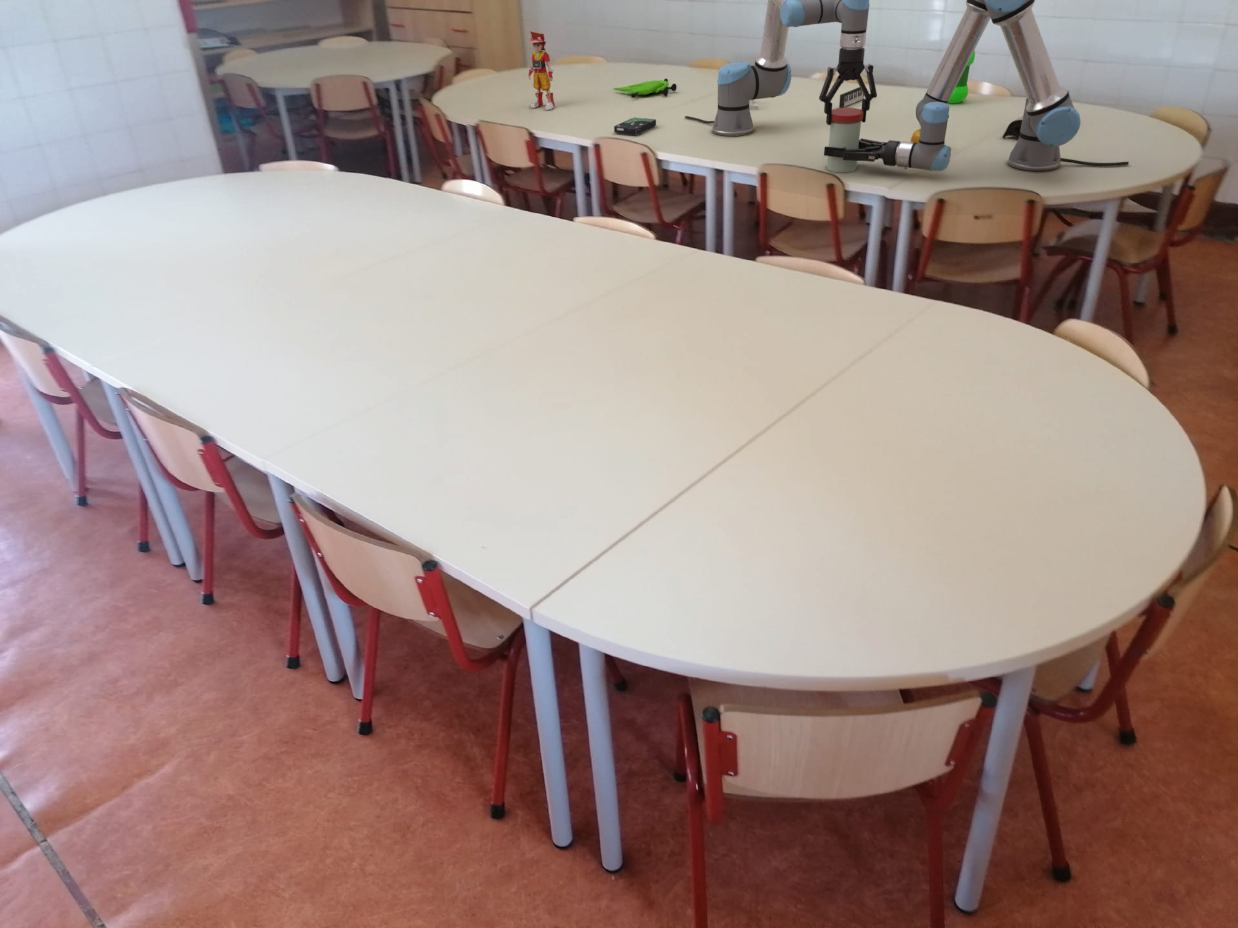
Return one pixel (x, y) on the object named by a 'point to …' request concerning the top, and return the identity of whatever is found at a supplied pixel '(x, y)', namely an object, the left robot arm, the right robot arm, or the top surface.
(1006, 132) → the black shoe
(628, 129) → the disk drive
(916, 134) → the fruit
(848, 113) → the lid
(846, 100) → the midi keyboard
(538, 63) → the toy
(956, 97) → the plastic bottle
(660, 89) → the toy
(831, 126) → the jar
